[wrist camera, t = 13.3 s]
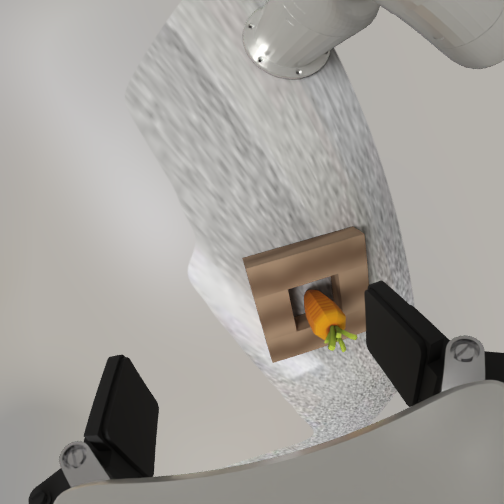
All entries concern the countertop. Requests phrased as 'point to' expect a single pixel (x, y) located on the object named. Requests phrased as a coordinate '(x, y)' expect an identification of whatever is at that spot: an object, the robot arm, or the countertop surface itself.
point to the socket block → (302, 272)
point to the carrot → (326, 319)
